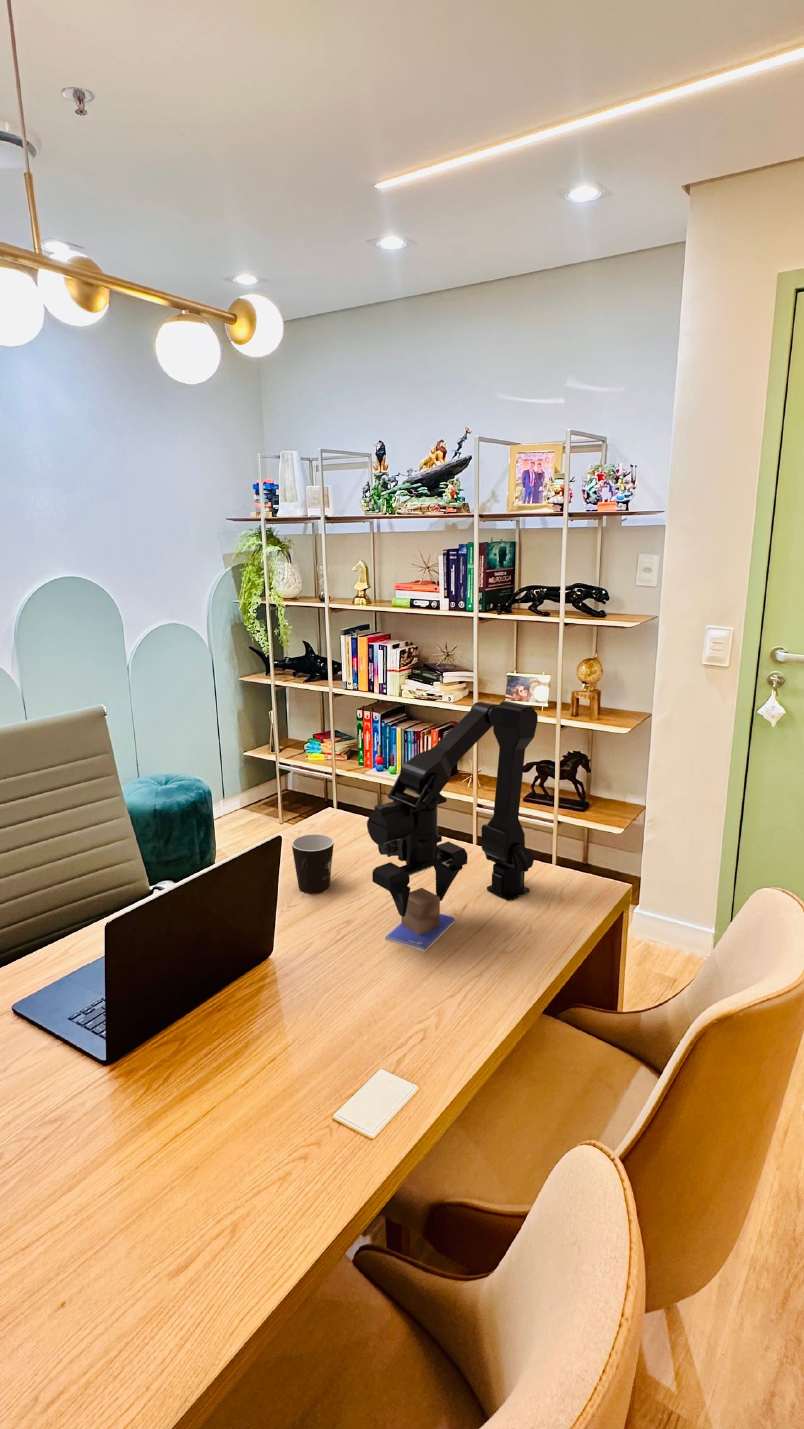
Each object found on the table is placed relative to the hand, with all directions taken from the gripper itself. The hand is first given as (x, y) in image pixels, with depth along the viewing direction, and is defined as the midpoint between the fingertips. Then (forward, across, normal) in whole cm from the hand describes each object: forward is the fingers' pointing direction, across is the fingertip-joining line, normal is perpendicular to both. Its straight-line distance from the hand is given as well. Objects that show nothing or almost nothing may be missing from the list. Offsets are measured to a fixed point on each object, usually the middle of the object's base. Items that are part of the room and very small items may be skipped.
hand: (421, 907), depth 144 cm
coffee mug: (+5, +7, -27) cm, 28 cm away
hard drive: (+6, 0, 0) cm, 6 cm away
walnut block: (+4, 0, 0) cm, 4 cm away
